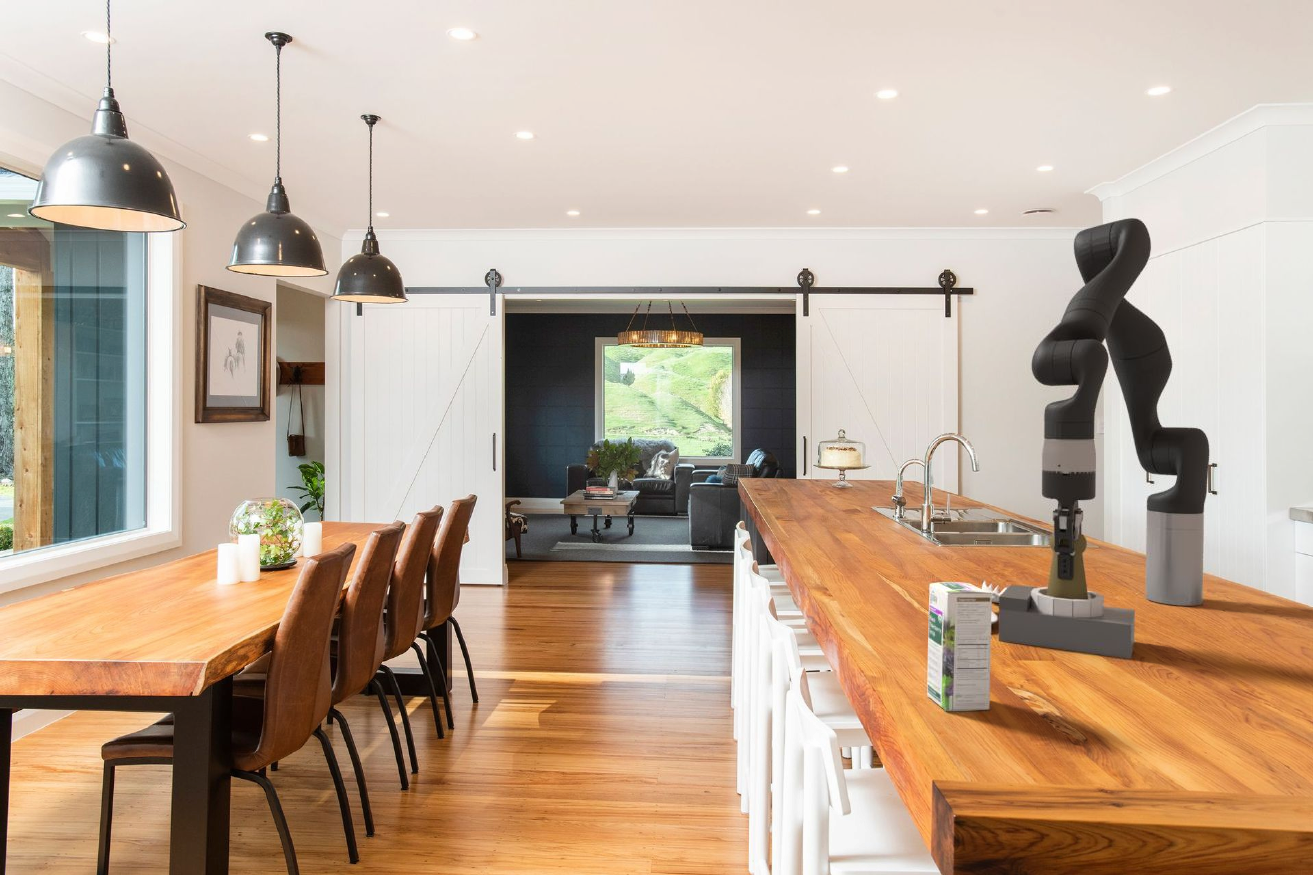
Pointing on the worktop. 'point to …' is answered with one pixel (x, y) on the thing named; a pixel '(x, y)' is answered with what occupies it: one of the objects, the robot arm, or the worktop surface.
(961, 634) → the syrup box
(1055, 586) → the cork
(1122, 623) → the camera body
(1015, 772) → the worktop surface
